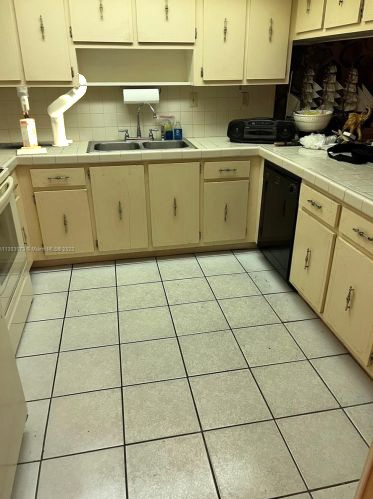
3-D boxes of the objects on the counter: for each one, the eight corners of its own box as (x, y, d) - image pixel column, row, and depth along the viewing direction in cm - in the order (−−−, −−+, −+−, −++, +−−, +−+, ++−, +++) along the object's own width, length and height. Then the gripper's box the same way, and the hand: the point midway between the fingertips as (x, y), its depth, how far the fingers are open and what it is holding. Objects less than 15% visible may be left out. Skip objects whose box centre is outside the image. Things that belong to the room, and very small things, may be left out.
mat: (45, 148, 284) (45, 146, 284) (47, 153, 263) (46, 151, 263) (17, 149, 277) (17, 147, 277) (16, 155, 257) (16, 153, 256)
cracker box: (31, 149, 281) (26, 120, 272) (23, 149, 281) (18, 120, 272) (38, 146, 293) (34, 118, 285) (31, 146, 294) (26, 118, 285)
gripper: (28, 94, 274) (32, 120, 282) (28, 94, 287) (32, 119, 294) (17, 94, 271) (21, 121, 279) (17, 94, 284) (22, 119, 292)
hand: (27, 119), depth 287 cm, fingers closed
